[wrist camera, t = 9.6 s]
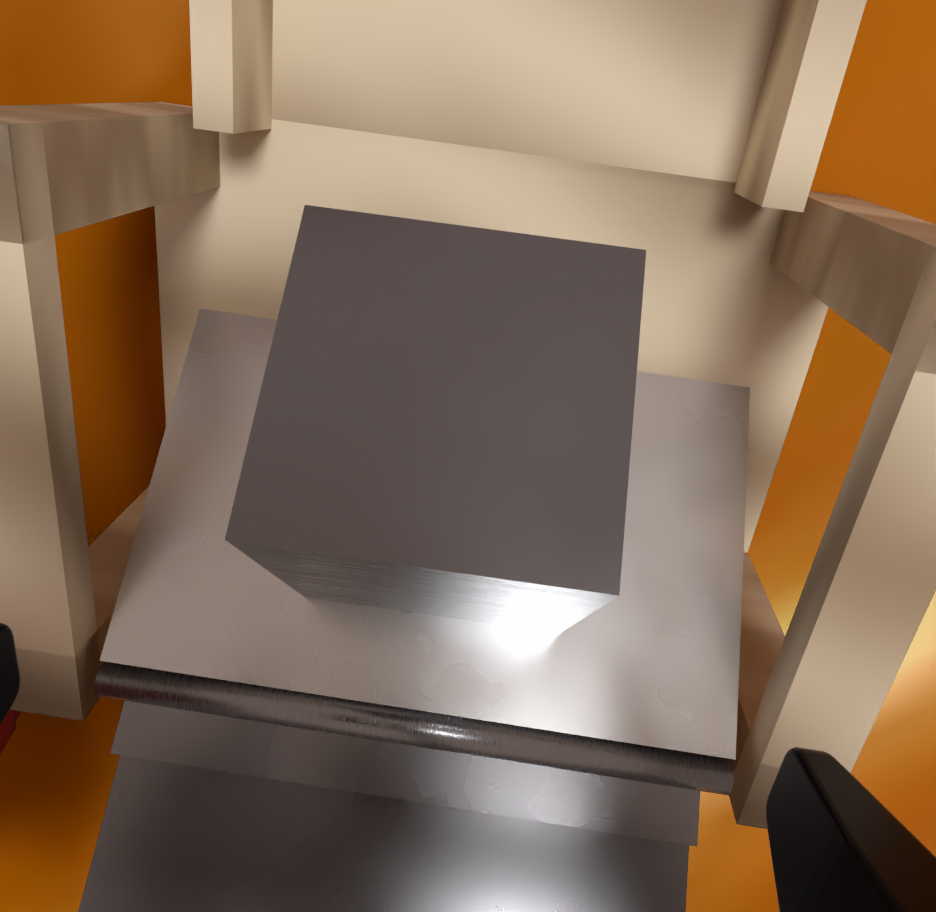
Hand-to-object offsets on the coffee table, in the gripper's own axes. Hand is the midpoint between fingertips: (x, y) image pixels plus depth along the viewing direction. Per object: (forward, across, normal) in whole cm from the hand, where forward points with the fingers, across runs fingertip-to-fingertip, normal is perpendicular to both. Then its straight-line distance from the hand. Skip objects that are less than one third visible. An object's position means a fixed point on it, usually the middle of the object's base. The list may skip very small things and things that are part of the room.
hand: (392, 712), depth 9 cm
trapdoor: (+9, 0, +7) cm, 12 cm away
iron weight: (+7, 0, +1) cm, 7 cm away
